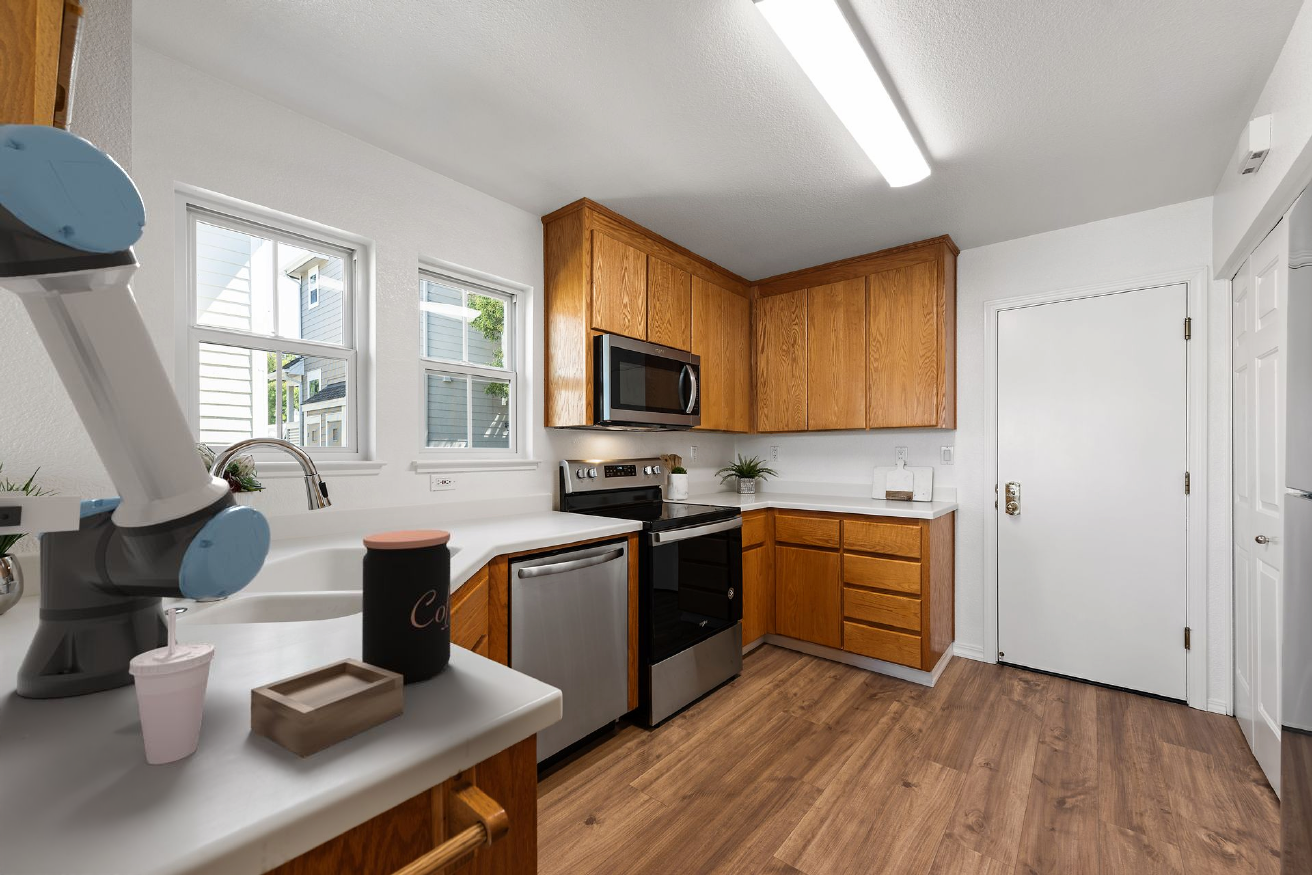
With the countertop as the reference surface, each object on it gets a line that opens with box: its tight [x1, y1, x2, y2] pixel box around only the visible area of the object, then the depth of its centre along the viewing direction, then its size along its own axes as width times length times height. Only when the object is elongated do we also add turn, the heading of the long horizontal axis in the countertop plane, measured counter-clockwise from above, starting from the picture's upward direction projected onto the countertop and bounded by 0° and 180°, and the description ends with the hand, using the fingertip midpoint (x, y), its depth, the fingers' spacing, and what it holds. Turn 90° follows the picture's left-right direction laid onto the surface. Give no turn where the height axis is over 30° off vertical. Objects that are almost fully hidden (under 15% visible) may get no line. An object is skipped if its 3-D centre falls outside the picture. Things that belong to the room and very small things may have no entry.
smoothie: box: [129, 608, 216, 765], centre depth 55 cm, size 6×6×14 cm
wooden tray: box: [250, 657, 404, 758], centre depth 61 cm, size 10×10×4 cm
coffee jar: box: [361, 529, 451, 686], centre depth 75 cm, size 11×11×18 cm
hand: (50, 508), depth 48 cm, fingers open, 13 cm apart
